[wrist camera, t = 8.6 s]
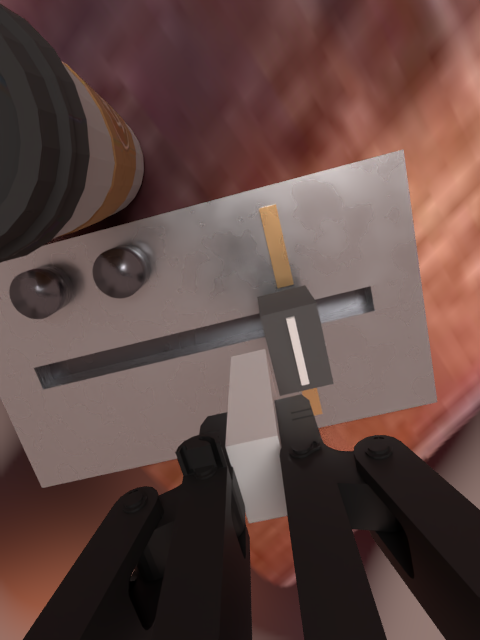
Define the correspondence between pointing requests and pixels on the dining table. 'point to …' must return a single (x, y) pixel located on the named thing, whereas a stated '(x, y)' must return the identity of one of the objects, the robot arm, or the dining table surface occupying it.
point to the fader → (295, 340)
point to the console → (210, 317)
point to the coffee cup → (55, 146)
